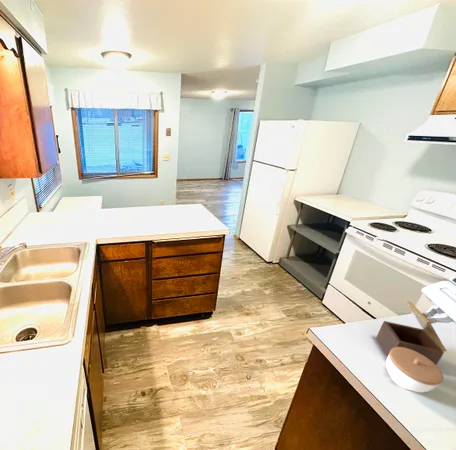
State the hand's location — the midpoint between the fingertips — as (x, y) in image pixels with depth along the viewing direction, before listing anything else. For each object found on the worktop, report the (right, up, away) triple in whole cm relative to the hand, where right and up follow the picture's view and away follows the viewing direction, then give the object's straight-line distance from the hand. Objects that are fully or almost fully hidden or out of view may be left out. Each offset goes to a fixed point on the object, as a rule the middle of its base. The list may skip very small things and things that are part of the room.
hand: (425, 318), depth 73 cm
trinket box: (-9, -18, -2) cm, 20 cm away
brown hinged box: (-1, -14, +6) cm, 16 cm away
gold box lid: (+1, -3, +1) cm, 3 cm away
